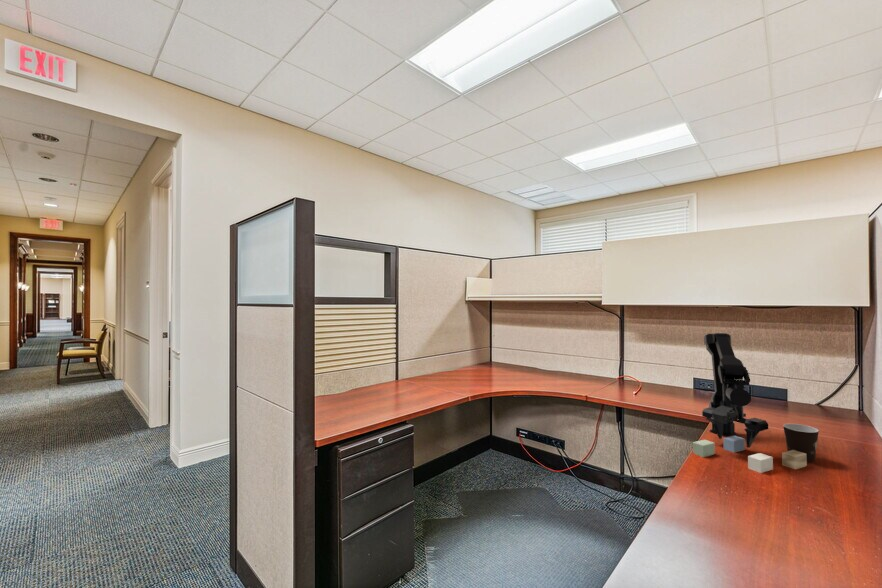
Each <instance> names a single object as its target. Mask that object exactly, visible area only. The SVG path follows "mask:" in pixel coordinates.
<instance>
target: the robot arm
mask: <svg viewBox="0 0 882 588" xmlns="http://www.w3.org/2000/svg"><path fill="white" fill-rule="evenodd" d="M703 343H704V345H705V348H706V351H707V352H708V353H709V354H710V356H711V364H712V375H713V385H714V386H713V388H714V393H713V394H712V396H711V398H710V401H709V403H708V407H705V408H703V409H702V412H701V413H702V415H701V416H702V417H704V418H705V419H706V421H707V420H708V421H709V422H710V423H711V429H709V430H708V431H709V432H711V433H713V434H717V437H718V439H719V440H721V439H723V436H725V437H730V436H735V435H736V434H737V432H736V429H735V427H736V425H735V423H734V422H736V423H739V424H743V425H744V426H745V428H744V429H743V430H744V431H745V434H746V437H745V445H746V447H747V448H750V447H751V446H752V445H753V443H754V440H755V439H756V437H757V436H758V434H759V433H760V432H763V431H766V430H769V423H768V421H766V420H765V419H762V418H757V417H752V418H747V414H746V413H744V407H745V406H747V405H749V404H750V403H751V401H752V396H751V394H750V393H749V391H748V390H746V389H745V386H750V382H751V378H750V374H749V372H748V370H747V367H746V366H744V363H743V361H742V360H740V359H739V358H738V357H736V355H735V352H734V349H733V346H732V335H731V334H729V333H726V332H715V333H707V334H705V335H703Z"/></svg>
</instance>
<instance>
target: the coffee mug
mask: <svg viewBox="0 0 882 588" xmlns="http://www.w3.org/2000/svg"><path fill="white" fill-rule="evenodd" d="M782 426H783V432H784V437H785V442H786V443H785V444H786V449H787V451H791V450H795V451H799V452H802V453H806V456H807V463H814V462H815V461H816V455H817V454H816V452H817V445H818V440H819V439H818V438H819V431H820V430H819V429H818V428H815V427H813V426H809V425H806V424H798V423H784V424H783V425H782Z"/></svg>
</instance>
